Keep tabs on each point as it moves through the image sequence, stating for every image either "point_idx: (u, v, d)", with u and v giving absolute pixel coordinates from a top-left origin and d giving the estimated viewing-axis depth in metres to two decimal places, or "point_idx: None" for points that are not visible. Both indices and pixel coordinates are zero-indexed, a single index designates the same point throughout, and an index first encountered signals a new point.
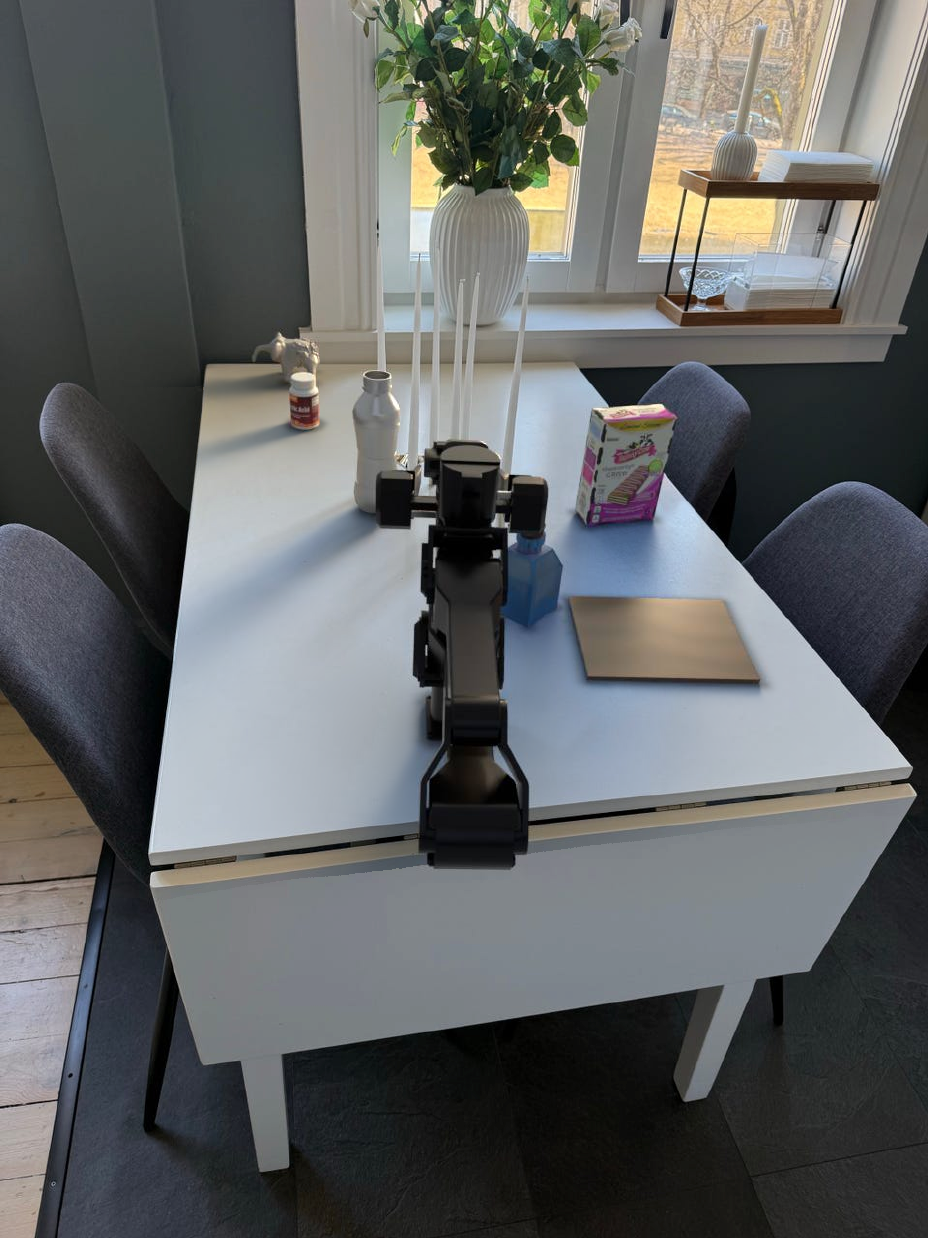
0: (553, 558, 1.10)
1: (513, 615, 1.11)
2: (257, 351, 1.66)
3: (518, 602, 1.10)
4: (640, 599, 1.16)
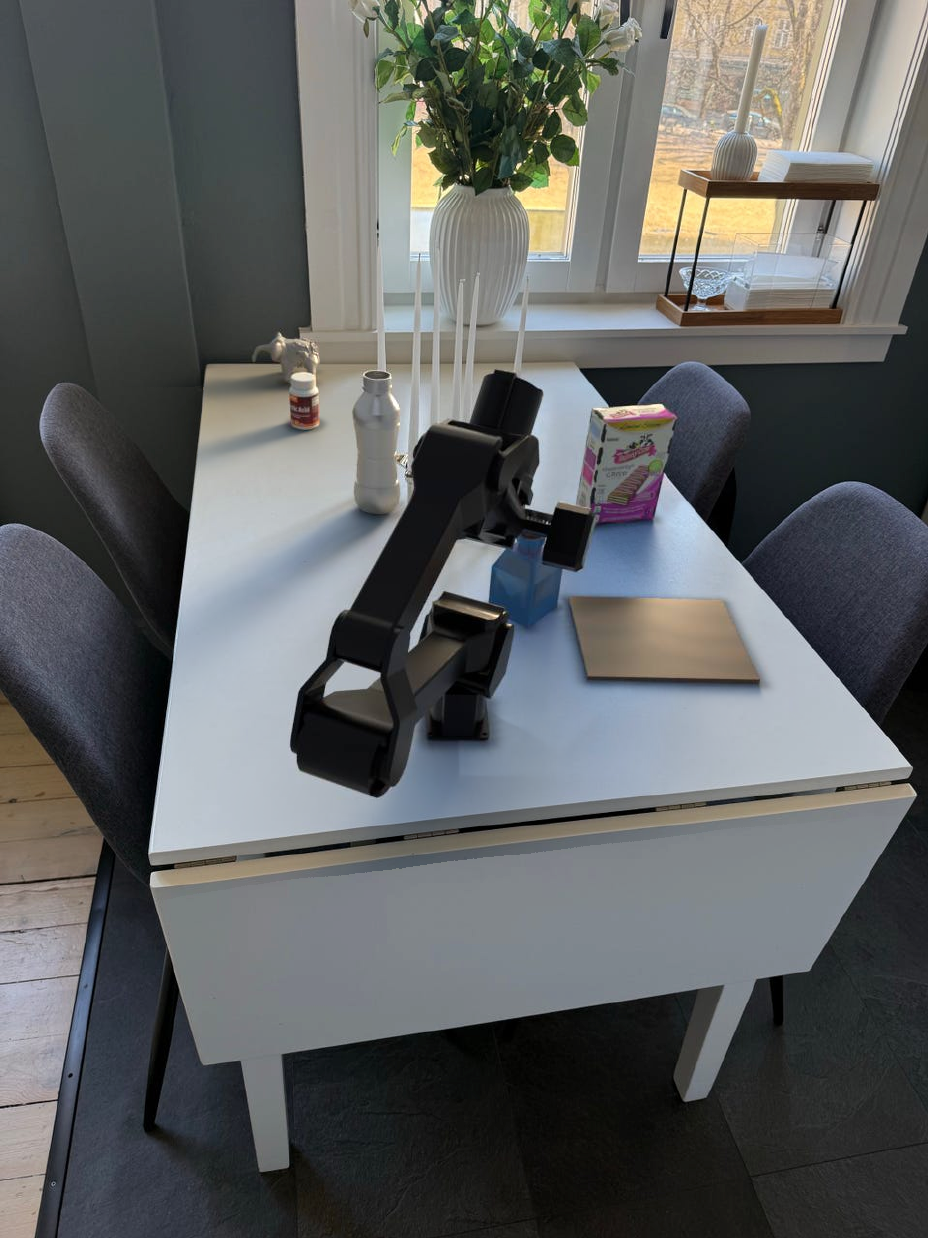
0: None
1: (513, 615, 1.11)
2: (257, 351, 1.66)
3: (518, 602, 1.10)
4: (640, 599, 1.16)
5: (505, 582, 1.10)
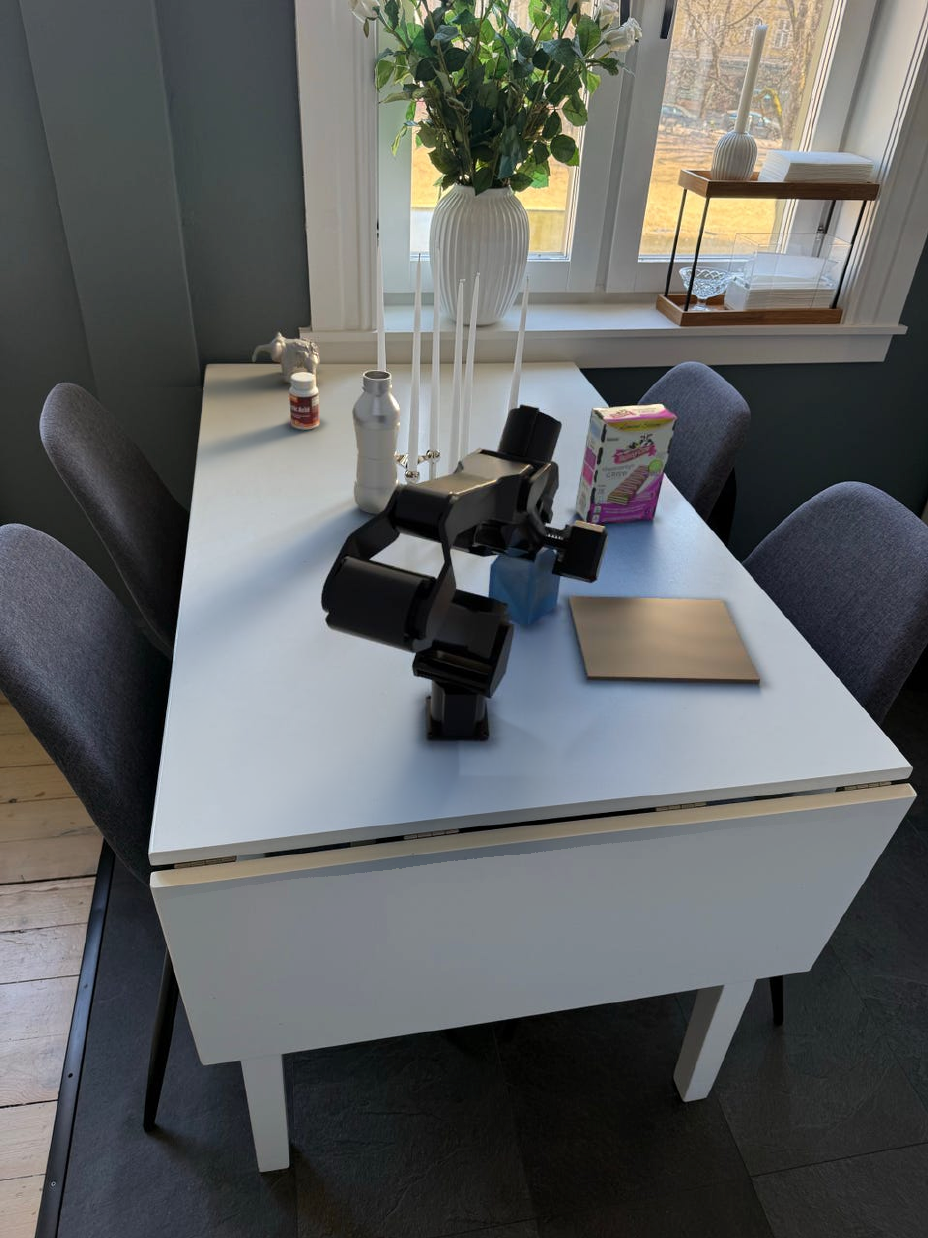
0: (552, 556, 1.10)
1: (512, 614, 1.11)
2: (257, 351, 1.66)
3: (517, 601, 1.10)
4: (640, 599, 1.16)
5: (504, 582, 1.10)
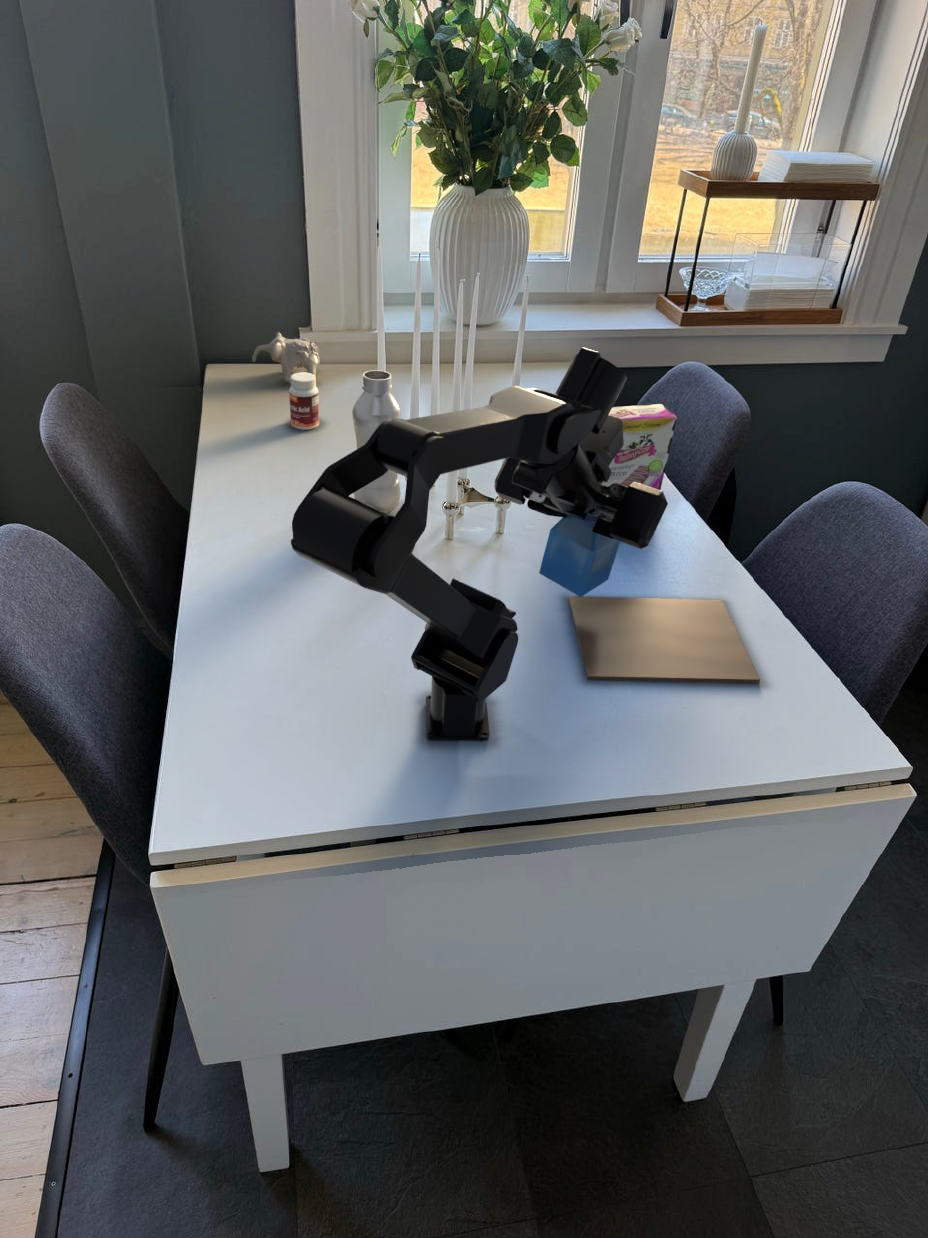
0: None
1: (566, 582, 1.08)
2: (257, 351, 1.66)
3: (574, 569, 1.07)
4: (640, 599, 1.16)
5: (562, 548, 1.07)
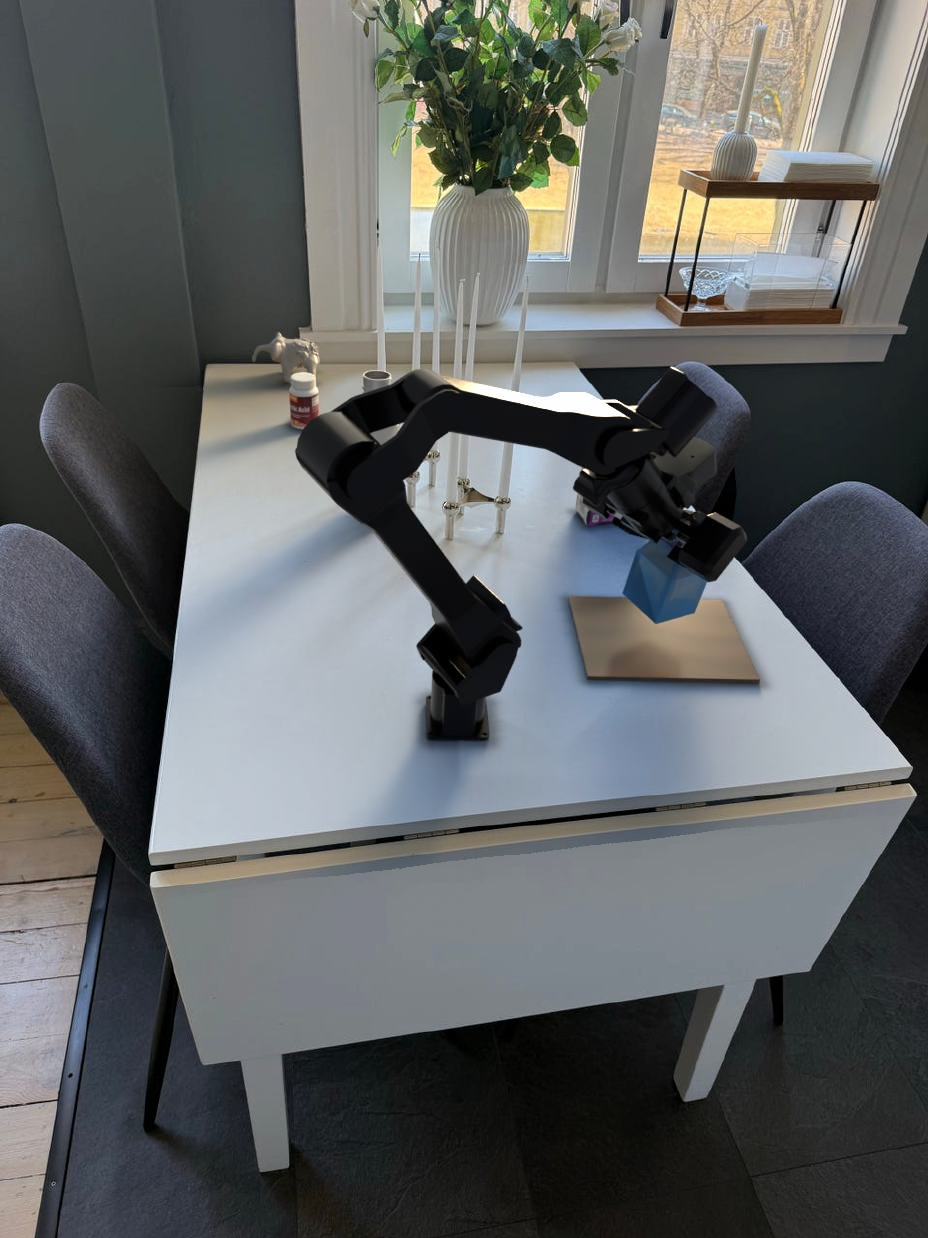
0: None
1: (644, 607, 1.06)
2: (257, 351, 1.66)
3: (652, 594, 1.04)
4: None
5: (645, 571, 1.04)
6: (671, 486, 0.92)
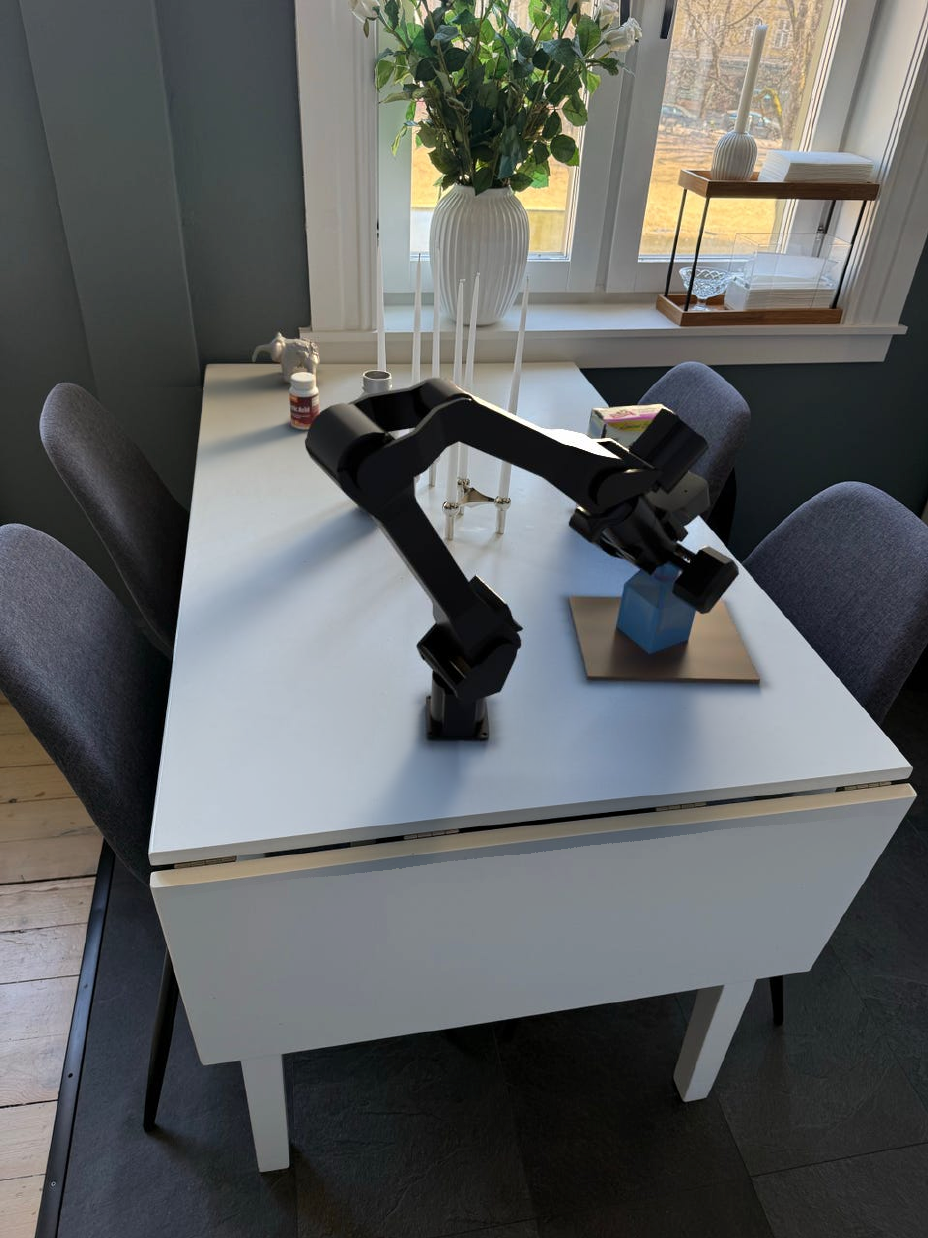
0: None
1: (637, 638, 1.08)
2: (257, 351, 1.66)
3: (643, 625, 1.06)
4: None
5: (634, 603, 1.07)
6: (665, 521, 0.94)
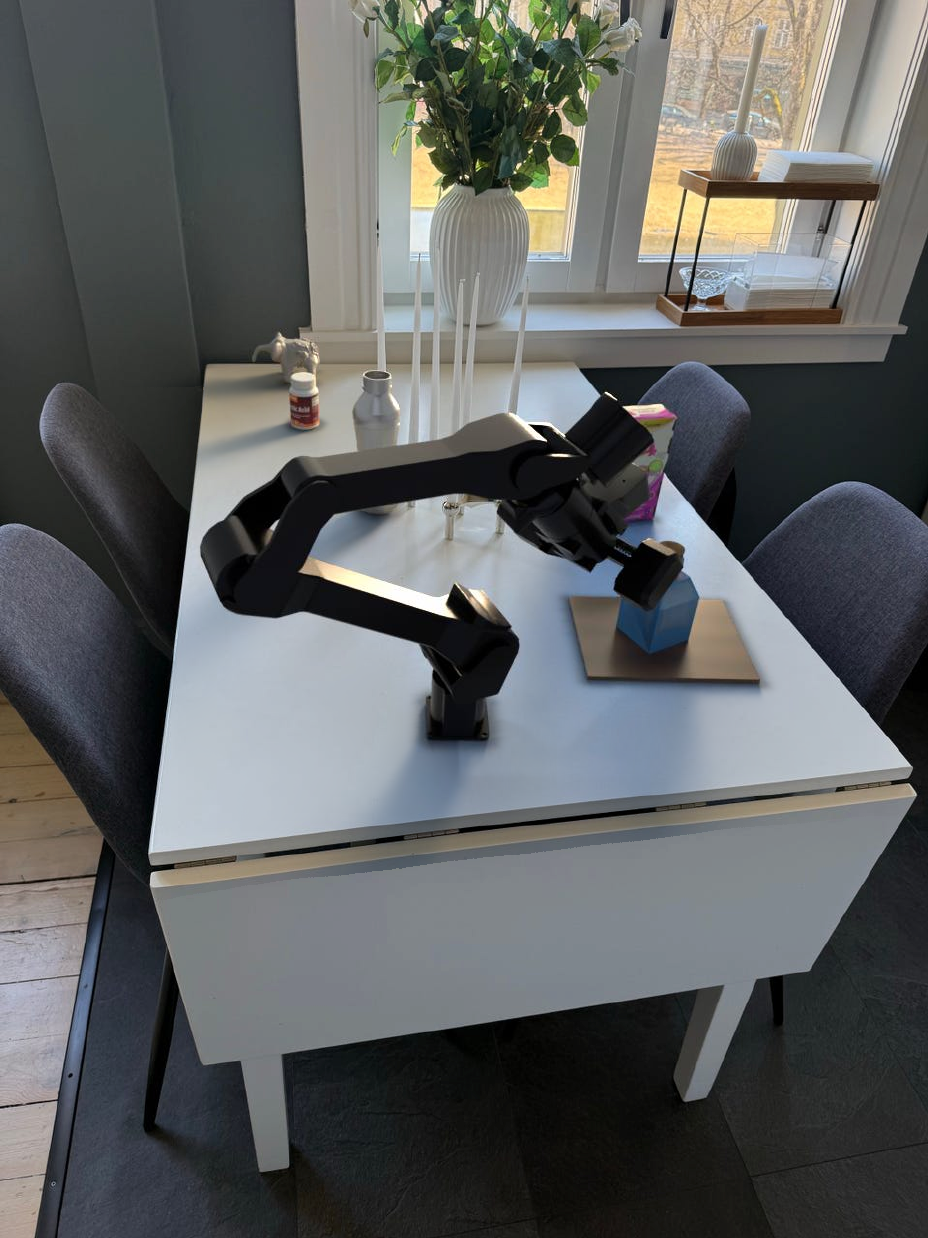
0: (689, 587, 1.05)
1: (637, 638, 1.08)
2: (257, 351, 1.66)
3: (643, 625, 1.06)
4: None
5: None
6: (602, 512, 0.87)
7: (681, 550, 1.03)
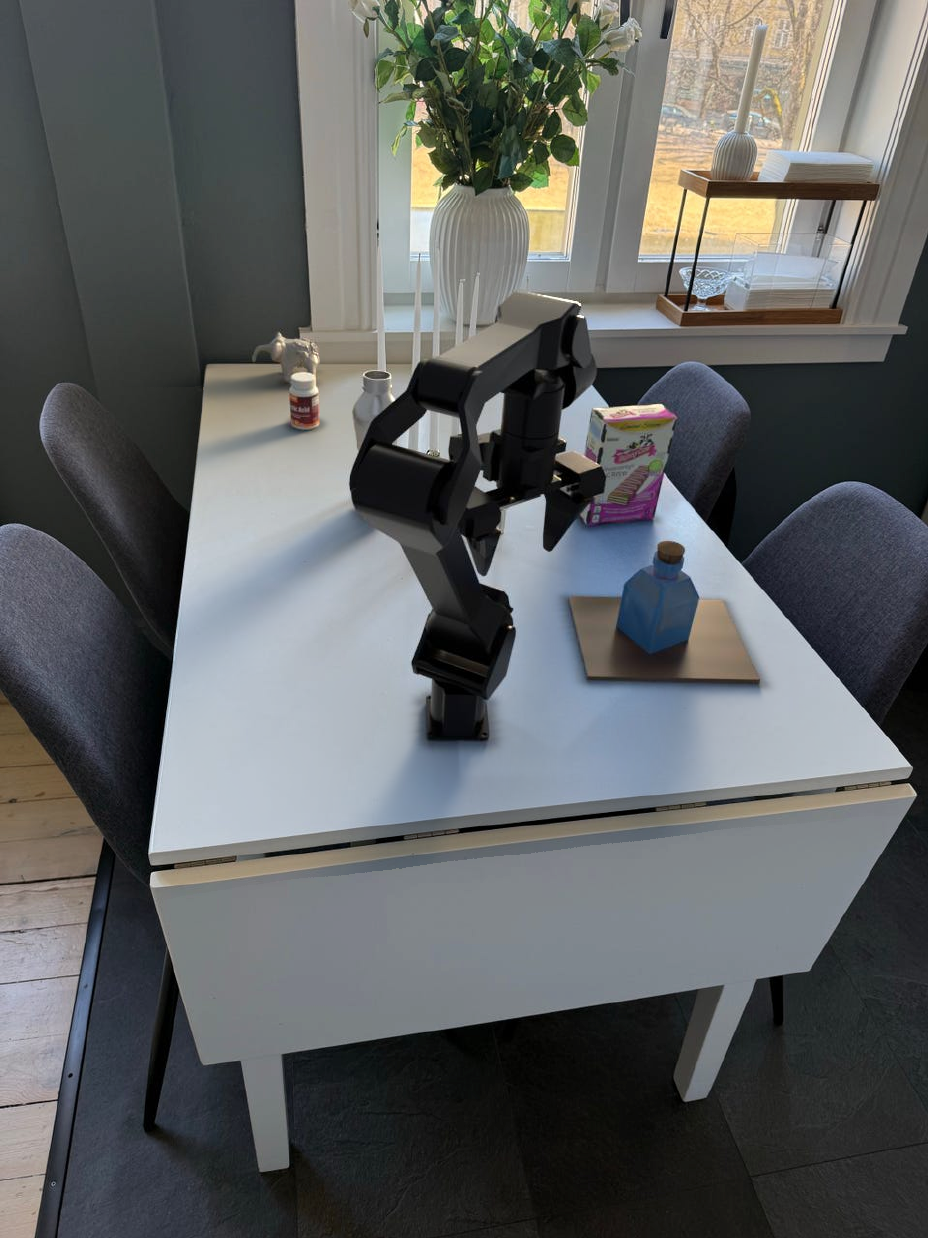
0: (689, 587, 1.05)
1: (637, 638, 1.08)
2: (257, 351, 1.66)
3: (643, 625, 1.06)
4: None
5: (634, 603, 1.07)
6: None
7: (681, 550, 1.03)
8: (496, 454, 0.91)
